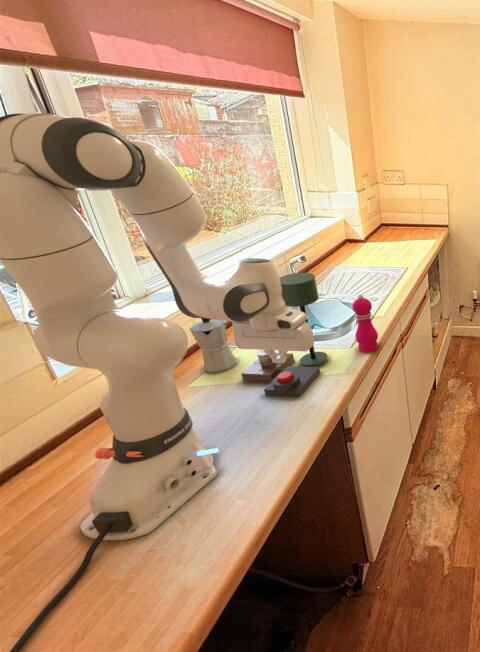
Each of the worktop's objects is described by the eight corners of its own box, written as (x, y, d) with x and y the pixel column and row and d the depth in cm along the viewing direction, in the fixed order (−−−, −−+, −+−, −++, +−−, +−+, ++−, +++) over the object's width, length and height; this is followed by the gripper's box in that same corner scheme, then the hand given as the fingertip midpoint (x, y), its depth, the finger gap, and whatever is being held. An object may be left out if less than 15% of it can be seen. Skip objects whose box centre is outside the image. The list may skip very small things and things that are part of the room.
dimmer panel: (272, 383, 118) (270, 374, 117) (243, 382, 119) (240, 373, 117) (294, 361, 129) (292, 353, 128) (267, 360, 130) (265, 352, 128)
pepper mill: (352, 350, 136) (343, 296, 128) (368, 341, 142) (360, 289, 134) (368, 355, 133) (359, 300, 125) (383, 346, 139) (376, 293, 131)
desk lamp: (322, 371, 124) (303, 285, 112) (290, 370, 125) (269, 283, 113) (336, 354, 133) (320, 273, 122) (307, 353, 134) (288, 272, 122)
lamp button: (288, 383, 112) (287, 378, 111) (276, 383, 112) (274, 378, 112) (295, 376, 115) (294, 371, 115) (283, 375, 116) (282, 370, 115)
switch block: (299, 397, 112) (296, 386, 111) (265, 396, 113) (261, 384, 111) (320, 373, 123) (318, 362, 122) (289, 372, 124) (286, 361, 122)
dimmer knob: (270, 366, 121) (267, 354, 119) (257, 366, 121) (254, 354, 119) (278, 359, 124) (274, 347, 123) (265, 359, 125) (262, 347, 123)
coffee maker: (238, 370, 124) (221, 318, 117) (203, 379, 119) (184, 326, 112) (236, 349, 135) (221, 301, 128) (204, 357, 131) (187, 307, 123)
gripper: (222, 320, 103) (235, 366, 108) (299, 323, 102) (309, 369, 108) (238, 310, 109) (250, 355, 114) (312, 313, 108) (320, 357, 113)
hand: (279, 362), depth 111 cm, fingers closed
